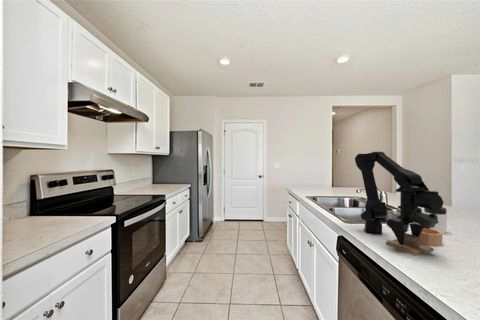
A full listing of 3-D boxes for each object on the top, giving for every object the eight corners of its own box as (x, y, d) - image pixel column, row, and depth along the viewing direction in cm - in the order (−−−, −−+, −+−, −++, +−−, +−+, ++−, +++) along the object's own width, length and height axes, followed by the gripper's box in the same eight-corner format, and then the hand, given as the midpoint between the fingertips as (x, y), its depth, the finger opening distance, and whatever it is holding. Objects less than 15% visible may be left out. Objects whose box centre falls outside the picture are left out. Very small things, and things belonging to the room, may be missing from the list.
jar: (443, 235, 100) (443, 210, 100) (421, 230, 107) (421, 206, 107) (448, 231, 105) (448, 207, 105) (427, 227, 112) (427, 204, 112)
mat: (396, 252, 82) (397, 251, 82) (386, 240, 94) (386, 240, 94) (435, 257, 79) (435, 256, 79) (419, 244, 90) (419, 243, 90)
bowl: (417, 245, 89) (417, 233, 89) (407, 236, 99) (407, 225, 99) (447, 248, 86) (447, 236, 86) (434, 239, 96) (434, 228, 96)
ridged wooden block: (415, 255, 79) (415, 242, 79) (385, 244, 89) (386, 232, 89) (433, 250, 83) (433, 238, 83) (402, 240, 93) (403, 229, 93)
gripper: (417, 211, 75) (417, 255, 75) (447, 206, 82) (447, 247, 82) (385, 204, 85) (385, 243, 86) (415, 201, 92) (414, 237, 93)
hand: (408, 242), depth 86 cm, fingers open, 9 cm apart
